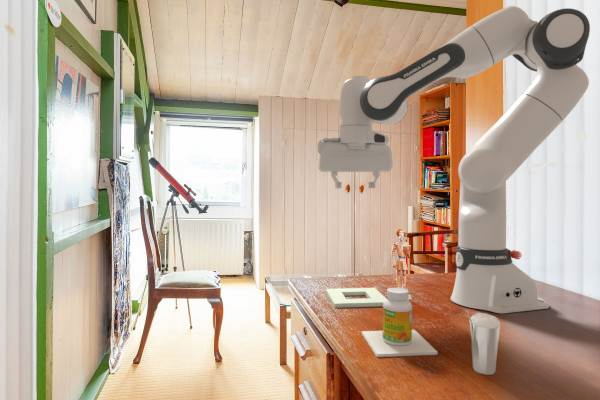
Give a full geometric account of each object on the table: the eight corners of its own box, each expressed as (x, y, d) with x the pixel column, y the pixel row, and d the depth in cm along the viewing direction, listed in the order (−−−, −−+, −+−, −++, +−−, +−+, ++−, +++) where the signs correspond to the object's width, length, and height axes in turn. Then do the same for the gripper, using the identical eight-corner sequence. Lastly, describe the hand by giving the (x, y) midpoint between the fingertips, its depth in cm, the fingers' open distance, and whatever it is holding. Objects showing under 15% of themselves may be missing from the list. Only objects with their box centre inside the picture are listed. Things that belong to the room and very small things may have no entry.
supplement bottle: (379, 343, 75) (380, 291, 75) (385, 333, 80) (386, 285, 79) (409, 348, 73) (410, 295, 72) (413, 338, 78) (414, 288, 77)
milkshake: (458, 364, 67) (459, 305, 67) (489, 363, 68) (490, 305, 67) (472, 377, 63) (473, 314, 62) (505, 376, 63) (506, 313, 63)
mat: (414, 331, 82) (414, 329, 82) (437, 354, 71) (437, 351, 71) (361, 333, 81) (361, 331, 81) (376, 357, 70) (376, 354, 70)
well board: (374, 291, 114) (374, 287, 114) (390, 306, 100) (390, 302, 100) (325, 292, 112) (325, 288, 112) (334, 307, 98) (334, 303, 98)
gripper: (319, 136, 106) (319, 188, 107) (394, 136, 108) (394, 188, 109) (316, 139, 113) (316, 188, 113) (387, 139, 114) (387, 188, 115)
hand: (355, 188), depth 111 cm, fingers open, 8 cm apart
